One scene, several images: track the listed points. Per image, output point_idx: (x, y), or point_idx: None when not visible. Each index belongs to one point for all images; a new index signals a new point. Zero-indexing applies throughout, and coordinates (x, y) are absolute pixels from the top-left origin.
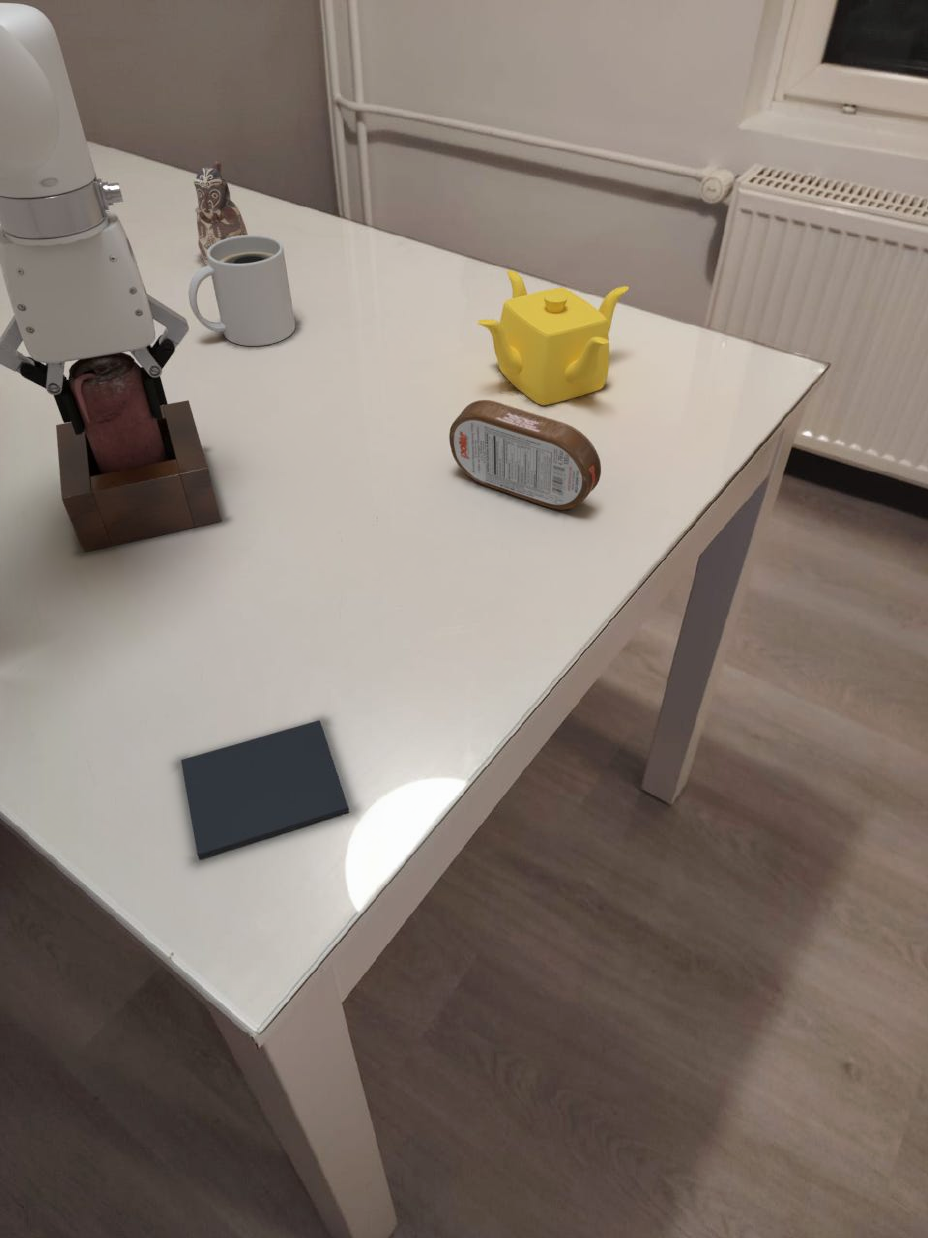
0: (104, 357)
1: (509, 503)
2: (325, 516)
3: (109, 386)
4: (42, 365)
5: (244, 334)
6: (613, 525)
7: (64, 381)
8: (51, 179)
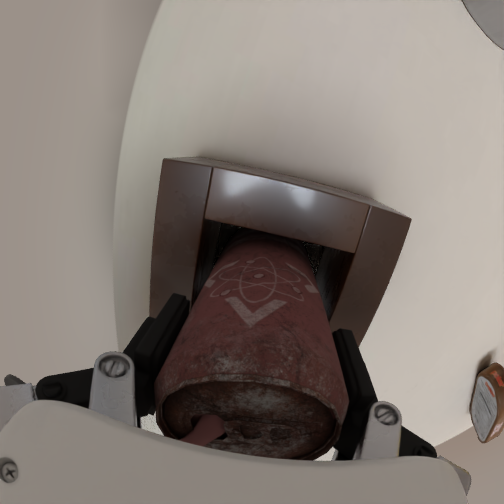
0: (276, 386)
1: (466, 395)
2: (394, 372)
3: None
4: (87, 407)
5: (487, 22)
6: (469, 418)
7: (145, 408)
8: None
